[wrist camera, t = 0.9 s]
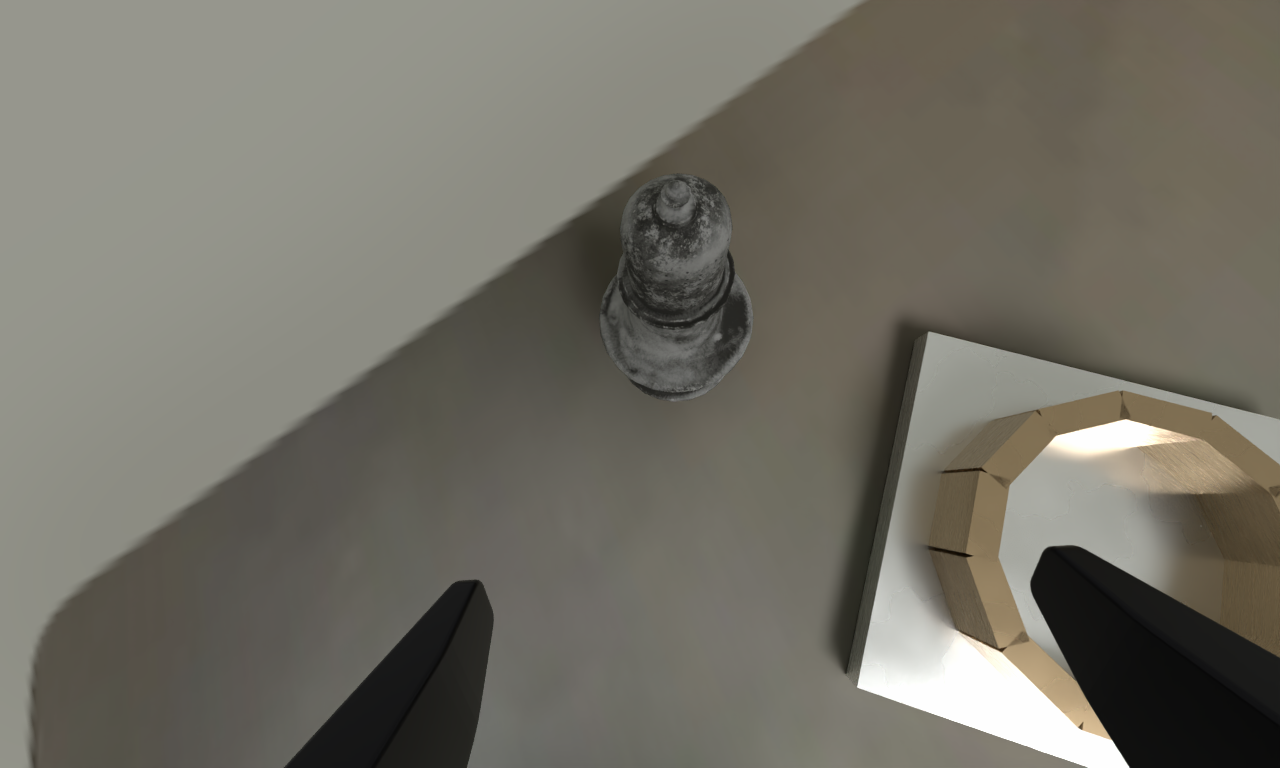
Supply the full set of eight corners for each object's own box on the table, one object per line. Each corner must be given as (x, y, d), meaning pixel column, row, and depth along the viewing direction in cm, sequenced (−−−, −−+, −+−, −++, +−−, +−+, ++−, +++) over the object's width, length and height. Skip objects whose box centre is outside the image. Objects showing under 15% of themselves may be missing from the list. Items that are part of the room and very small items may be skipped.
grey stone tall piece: (588, 319, 23) (500, 141, 11) (700, 261, 23) (726, 29, 12) (648, 431, 22) (617, 360, 10) (766, 369, 22) (869, 228, 10)
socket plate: (1249, 813, 17) (1397, 896, 14) (846, 675, 19) (885, 717, 16) (1271, 430, 20) (1402, 417, 16) (914, 340, 22) (962, 309, 18)
